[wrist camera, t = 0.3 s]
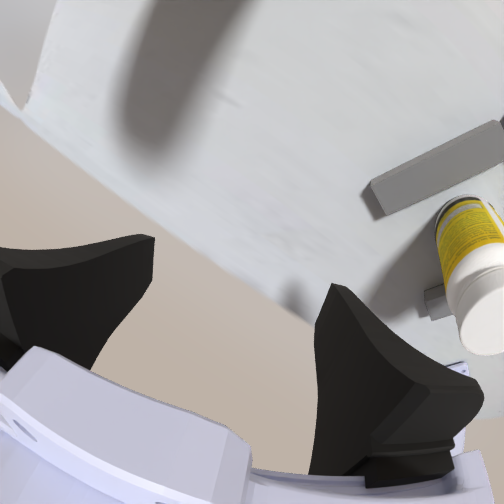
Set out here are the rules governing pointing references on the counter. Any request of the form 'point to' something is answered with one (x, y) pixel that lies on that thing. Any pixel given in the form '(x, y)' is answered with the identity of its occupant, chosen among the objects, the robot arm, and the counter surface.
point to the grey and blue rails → (440, 182)
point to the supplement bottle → (473, 271)
